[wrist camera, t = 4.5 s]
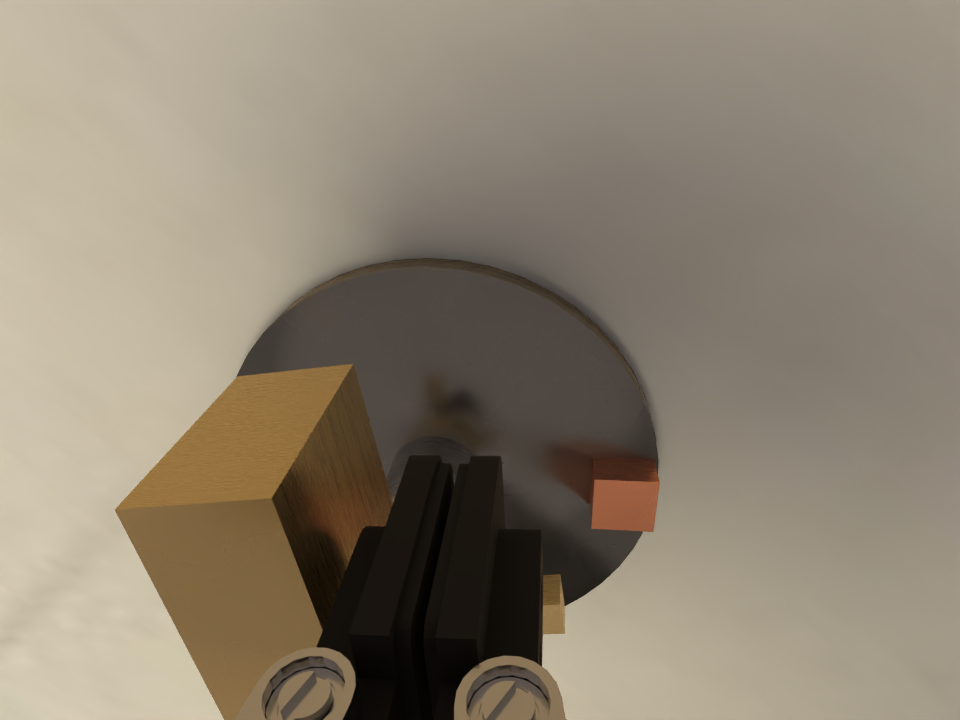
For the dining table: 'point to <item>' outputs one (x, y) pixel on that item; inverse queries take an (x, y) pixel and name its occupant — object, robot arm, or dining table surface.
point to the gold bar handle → (265, 522)
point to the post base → (490, 397)
